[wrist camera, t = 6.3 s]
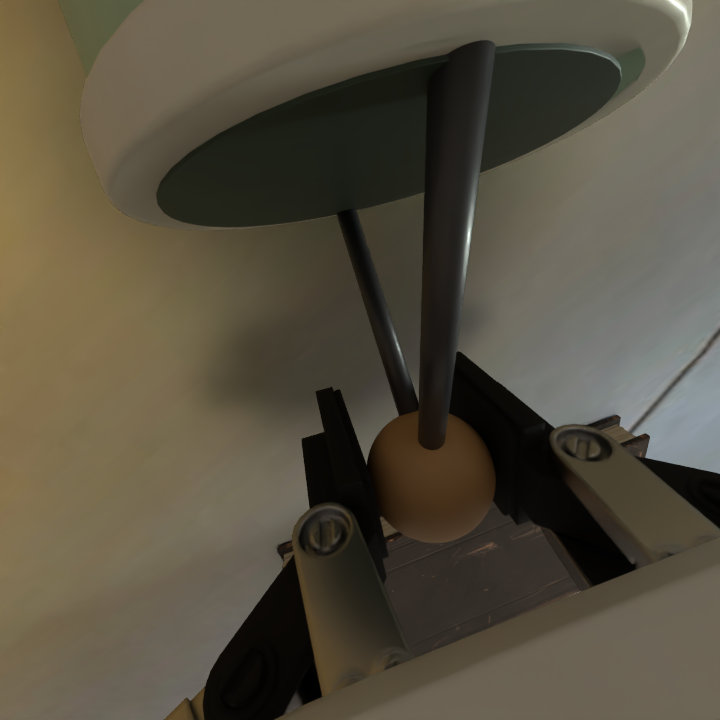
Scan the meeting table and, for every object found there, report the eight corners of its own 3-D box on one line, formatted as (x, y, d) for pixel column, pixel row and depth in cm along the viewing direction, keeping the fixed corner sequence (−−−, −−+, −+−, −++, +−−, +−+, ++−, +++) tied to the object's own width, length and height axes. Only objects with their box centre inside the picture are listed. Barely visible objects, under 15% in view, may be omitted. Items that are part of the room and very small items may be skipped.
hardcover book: (277, 546, 20) (278, 585, 18) (616, 414, 22) (651, 437, 20) (348, 657, 28) (354, 693, 26) (594, 552, 30) (617, 578, 28)
